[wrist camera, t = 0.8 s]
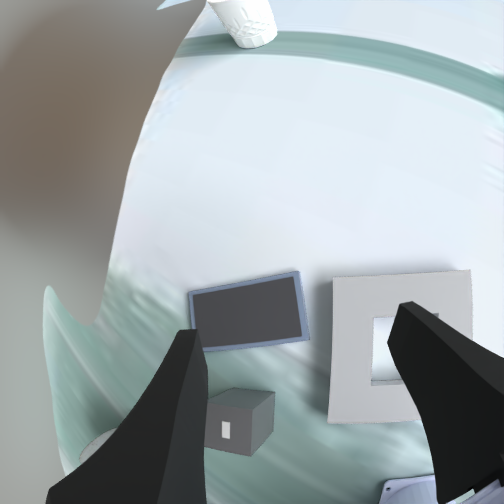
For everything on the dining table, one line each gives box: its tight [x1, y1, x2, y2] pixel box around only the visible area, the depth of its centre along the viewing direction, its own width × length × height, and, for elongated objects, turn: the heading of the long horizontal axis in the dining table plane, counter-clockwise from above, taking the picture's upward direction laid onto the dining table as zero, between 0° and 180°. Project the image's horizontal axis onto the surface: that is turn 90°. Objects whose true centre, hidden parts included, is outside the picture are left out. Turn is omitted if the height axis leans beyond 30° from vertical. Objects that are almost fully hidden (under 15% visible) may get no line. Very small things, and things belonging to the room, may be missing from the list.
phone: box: [189, 271, 310, 352], centre depth 26 cm, size 6×11×1 cm, turn 99°
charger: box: [204, 388, 275, 456], centre depth 21 cm, size 4×4×6 cm
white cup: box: [206, 0, 277, 49], centre depth 31 cm, size 8×8×10 cm
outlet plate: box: [327, 270, 473, 424], centre depth 20 cm, size 12×12×2 cm
